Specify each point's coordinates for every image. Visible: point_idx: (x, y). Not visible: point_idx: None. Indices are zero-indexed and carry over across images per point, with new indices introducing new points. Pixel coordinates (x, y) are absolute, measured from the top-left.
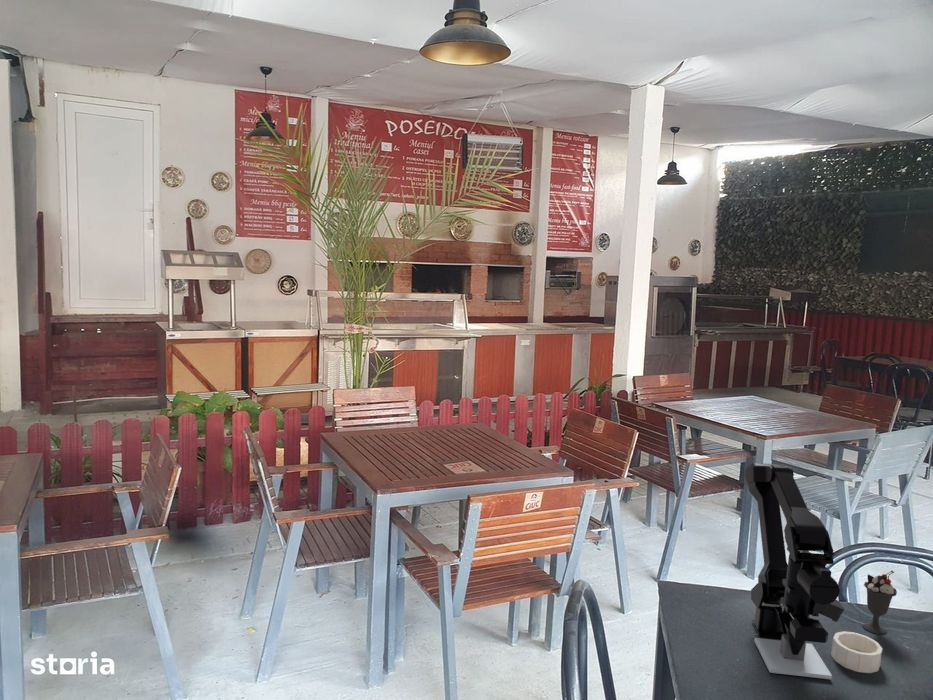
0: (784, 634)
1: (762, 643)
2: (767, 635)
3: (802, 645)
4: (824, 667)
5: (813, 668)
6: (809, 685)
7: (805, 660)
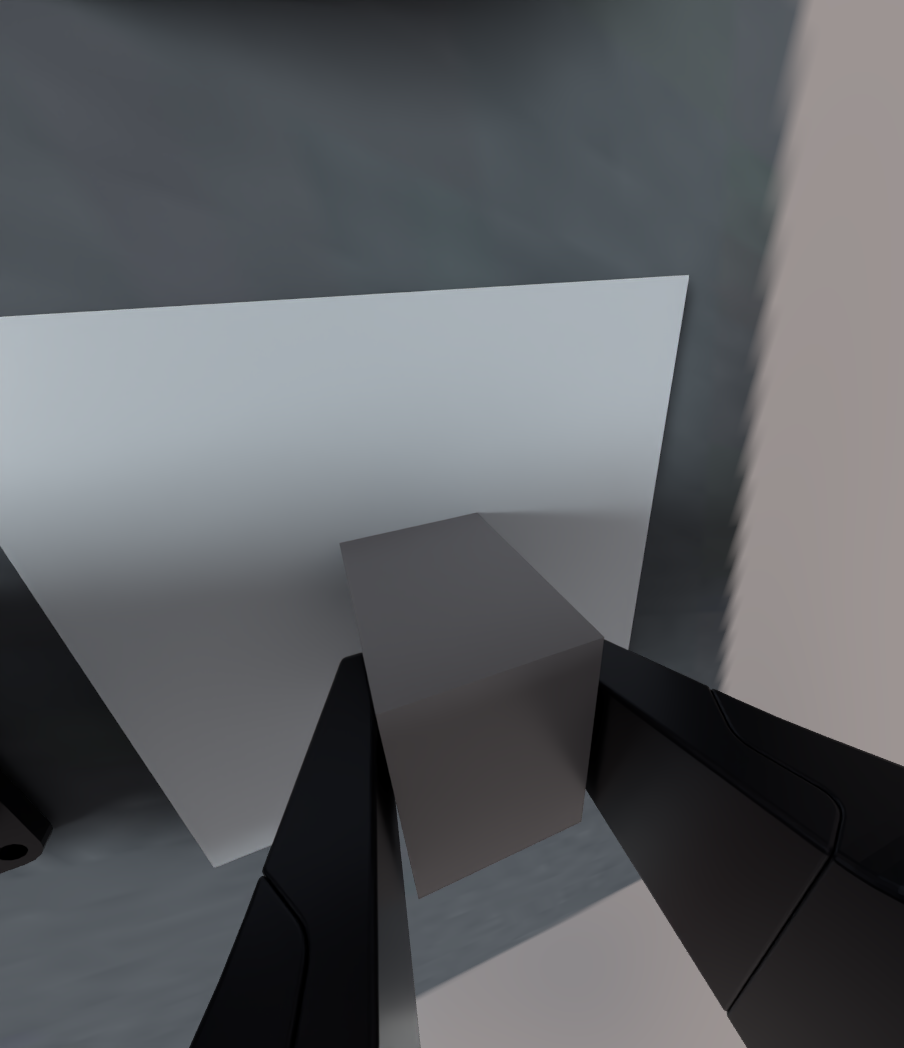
0: (425, 878)
1: None
2: (9, 804)
3: (663, 671)
4: (557, 314)
5: (589, 442)
6: (688, 479)
7: (469, 497)
